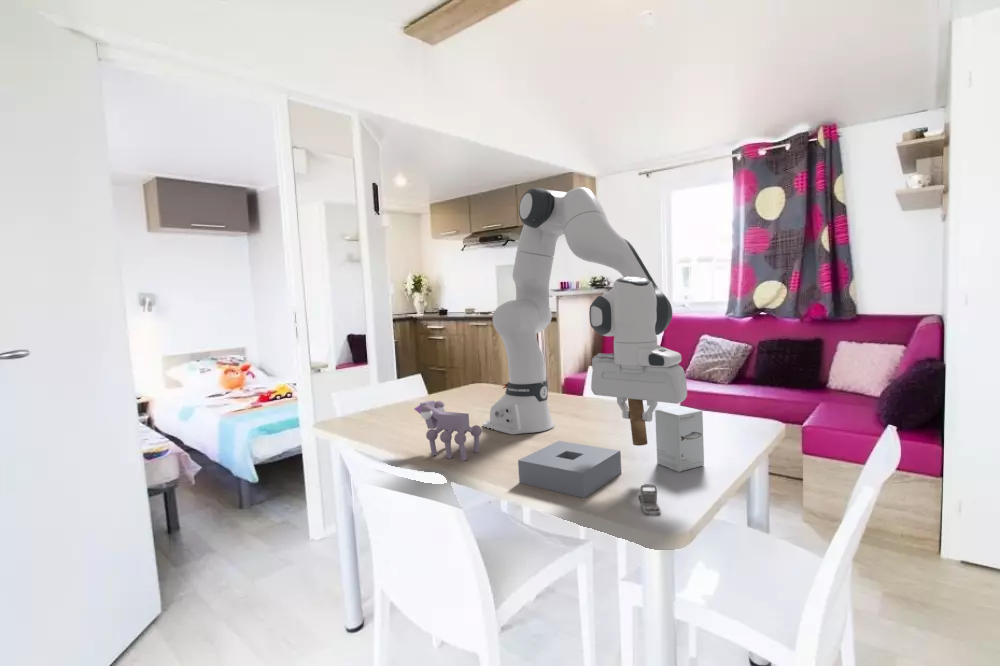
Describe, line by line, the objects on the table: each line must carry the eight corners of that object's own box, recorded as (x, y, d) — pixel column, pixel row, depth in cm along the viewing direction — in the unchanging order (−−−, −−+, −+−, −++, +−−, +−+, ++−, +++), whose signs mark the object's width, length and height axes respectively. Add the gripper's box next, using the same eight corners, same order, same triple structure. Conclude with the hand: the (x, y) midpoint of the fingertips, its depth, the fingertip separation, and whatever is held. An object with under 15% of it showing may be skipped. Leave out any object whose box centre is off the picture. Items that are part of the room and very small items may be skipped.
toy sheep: (402, 453, 135) (400, 403, 134) (429, 444, 144) (427, 397, 143) (461, 463, 124) (459, 408, 123) (486, 452, 133) (484, 401, 132)
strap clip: (661, 517, 89) (661, 493, 88) (644, 517, 89) (643, 493, 89) (654, 497, 97) (653, 476, 97) (637, 497, 97) (636, 476, 97)
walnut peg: (630, 444, 106) (625, 398, 106) (636, 441, 108) (631, 395, 108) (643, 446, 104) (638, 398, 104) (649, 442, 106) (644, 395, 106)
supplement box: (679, 473, 108) (677, 415, 107) (656, 463, 115) (653, 409, 114) (705, 466, 111) (703, 410, 110) (681, 457, 118) (679, 404, 117)
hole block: (519, 482, 108) (517, 460, 108) (559, 461, 120) (558, 440, 120) (584, 498, 98) (582, 473, 98) (621, 472, 110) (620, 450, 110)
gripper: (584, 354, 109) (586, 416, 111) (677, 359, 96) (678, 429, 97) (598, 350, 114) (600, 410, 115) (689, 354, 101) (690, 422, 102)
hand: (637, 419), depth 106 cm, fingers closed on walnut peg, 3 cm apart
